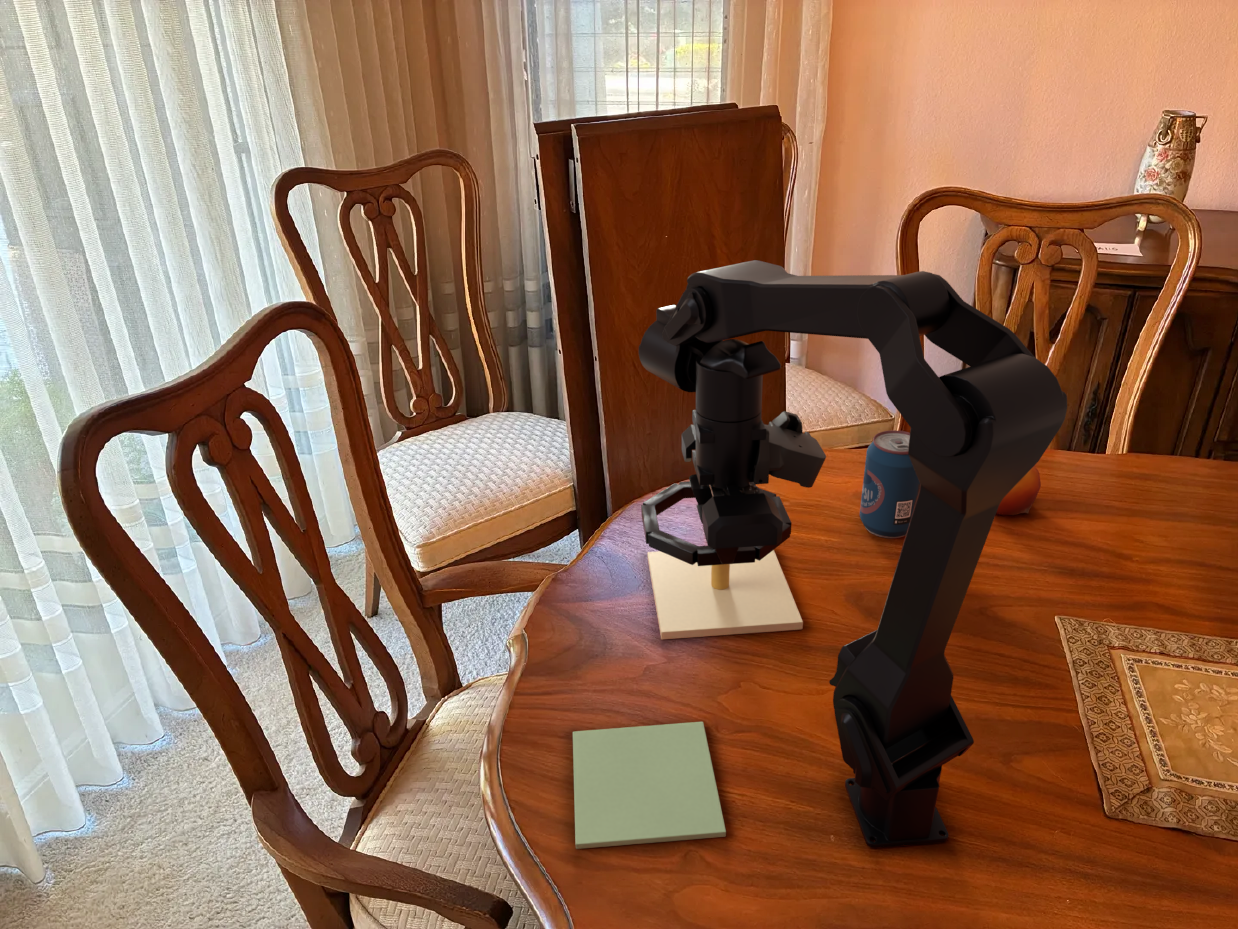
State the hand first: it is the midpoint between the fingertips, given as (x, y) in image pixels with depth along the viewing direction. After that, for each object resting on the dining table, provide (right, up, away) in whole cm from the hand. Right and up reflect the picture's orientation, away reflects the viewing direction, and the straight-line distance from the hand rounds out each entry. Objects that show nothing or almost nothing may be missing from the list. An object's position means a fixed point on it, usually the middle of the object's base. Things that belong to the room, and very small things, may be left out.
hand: (725, 557), depth 82 cm
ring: (0, +3, +6) cm, 7 cm away
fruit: (+39, +3, +29) cm, 49 cm away
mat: (-8, -18, -9) cm, 22 cm away
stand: (+1, -5, +15) cm, 16 cm away
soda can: (+23, +1, +25) cm, 35 cm away
